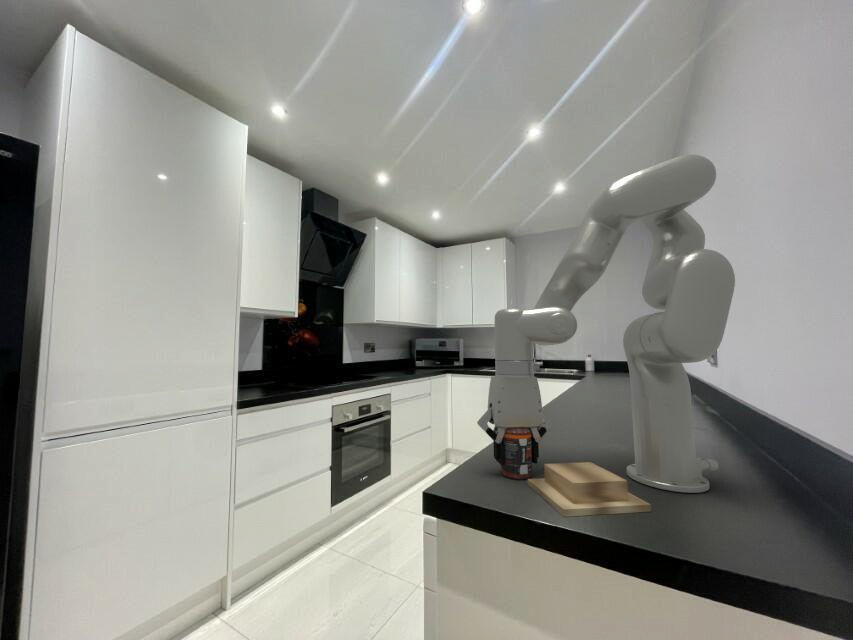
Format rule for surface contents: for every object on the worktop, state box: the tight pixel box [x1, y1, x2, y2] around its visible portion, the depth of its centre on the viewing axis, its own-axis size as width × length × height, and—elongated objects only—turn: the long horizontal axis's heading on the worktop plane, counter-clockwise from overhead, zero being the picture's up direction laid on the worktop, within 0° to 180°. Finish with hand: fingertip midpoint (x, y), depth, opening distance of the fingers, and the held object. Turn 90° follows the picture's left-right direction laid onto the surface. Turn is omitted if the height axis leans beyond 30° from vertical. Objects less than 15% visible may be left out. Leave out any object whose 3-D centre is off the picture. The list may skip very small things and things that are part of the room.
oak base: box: [527, 461, 652, 518], centre depth 54 cm, size 14×12×4 cm
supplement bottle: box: [500, 427, 533, 480], centre depth 65 cm, size 6×6×11 cm
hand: (516, 461), depth 64 cm, fingers closed on supplement bottle, 6 cm apart
